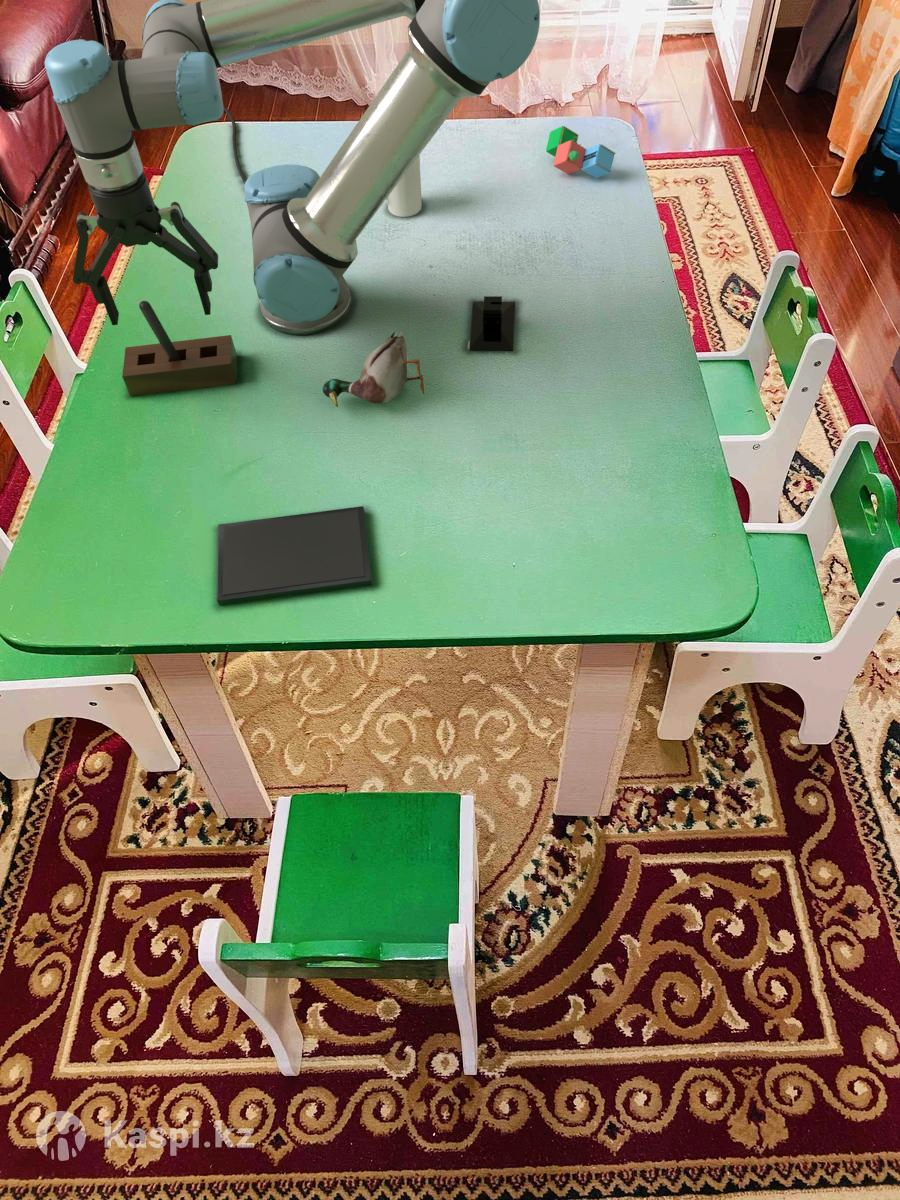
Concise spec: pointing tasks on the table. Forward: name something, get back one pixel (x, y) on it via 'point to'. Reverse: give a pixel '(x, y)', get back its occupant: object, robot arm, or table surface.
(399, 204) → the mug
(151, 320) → the stylus
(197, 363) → the pen stand
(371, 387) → the decorative duck model
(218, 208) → the table surface
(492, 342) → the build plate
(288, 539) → the tablet
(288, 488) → the table surface
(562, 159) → the building blocks
